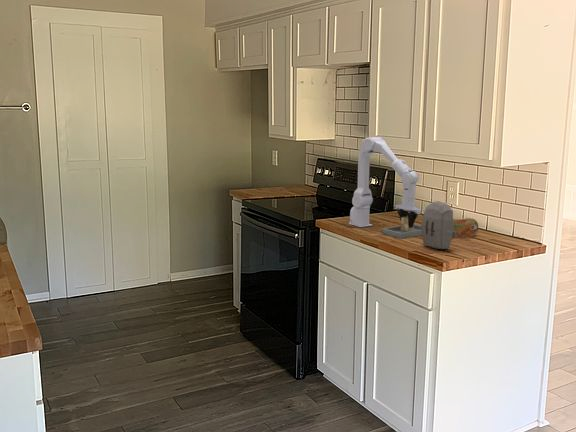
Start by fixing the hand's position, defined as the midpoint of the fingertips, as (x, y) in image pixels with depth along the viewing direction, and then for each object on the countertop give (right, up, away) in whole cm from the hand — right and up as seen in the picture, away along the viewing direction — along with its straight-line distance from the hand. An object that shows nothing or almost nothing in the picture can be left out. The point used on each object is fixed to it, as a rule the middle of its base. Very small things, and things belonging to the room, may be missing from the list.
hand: (407, 226), depth 264 cm
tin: (+24, -5, -3) cm, 25 cm away
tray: (0, -3, +1) cm, 3 cm away
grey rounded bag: (+6, -9, -25) cm, 27 cm away
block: (0, -2, 0) cm, 2 cm away
